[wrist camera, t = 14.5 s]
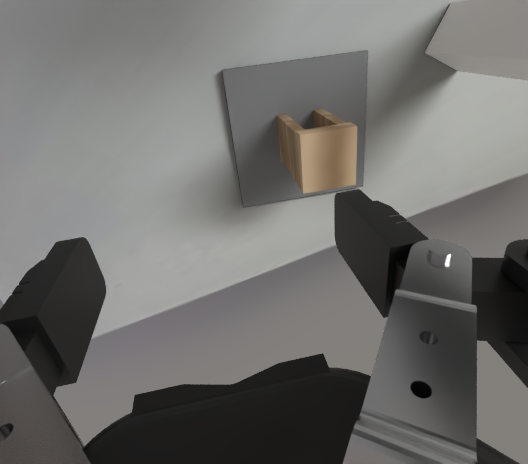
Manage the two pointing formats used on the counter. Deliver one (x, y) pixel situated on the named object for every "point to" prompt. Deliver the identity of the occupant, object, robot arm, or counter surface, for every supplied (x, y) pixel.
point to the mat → (296, 107)
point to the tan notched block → (319, 151)
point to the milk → (484, 38)
